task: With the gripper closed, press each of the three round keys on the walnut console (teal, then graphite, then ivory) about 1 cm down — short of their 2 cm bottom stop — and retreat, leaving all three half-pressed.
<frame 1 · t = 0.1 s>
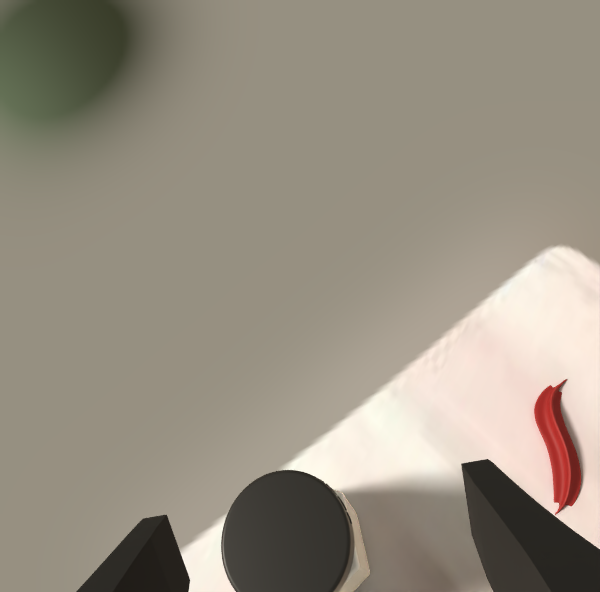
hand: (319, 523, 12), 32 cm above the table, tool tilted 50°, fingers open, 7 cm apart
jar: (316, 553, 41), on the table
cayenne pepper: (554, 443, 42), on the table
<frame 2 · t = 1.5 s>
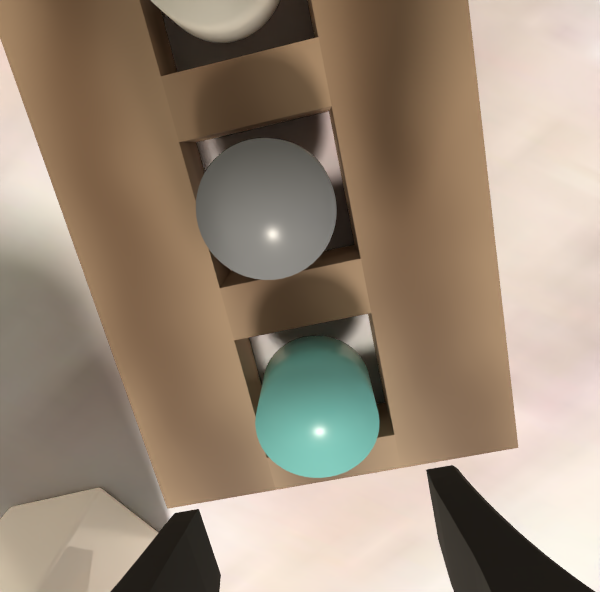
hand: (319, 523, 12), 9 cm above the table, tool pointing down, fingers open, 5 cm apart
jar: (89, 556, 24), on the table
teal key: (316, 403, 17), point 4 cm above the table, slide at 0.0 cm
graphite key: (269, 205, 16), point 4 cm above the table, slide at 0.0 cm
console: (277, 194, 19), on the table
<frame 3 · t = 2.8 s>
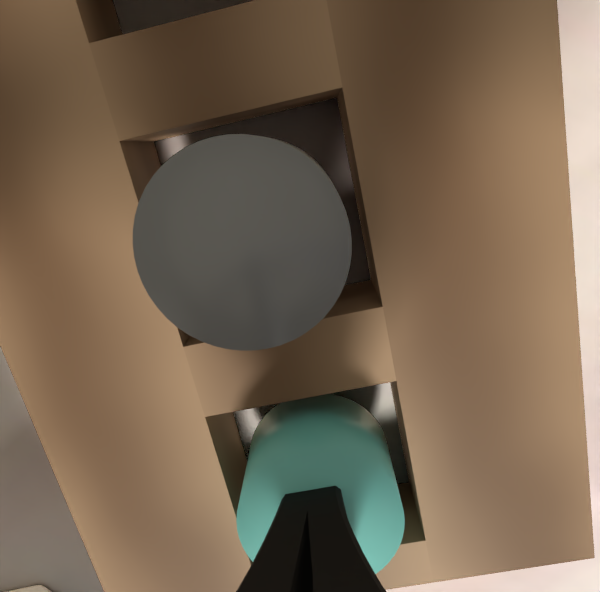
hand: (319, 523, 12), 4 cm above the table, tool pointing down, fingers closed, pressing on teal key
teal key: (319, 486, 13), point 3 cm above the table, slide at 0.9 cm, touching gripper
graphite key: (250, 235, 10), point 4 cm above the table, slide at 0.0 cm
console: (266, 213, 14), on the table
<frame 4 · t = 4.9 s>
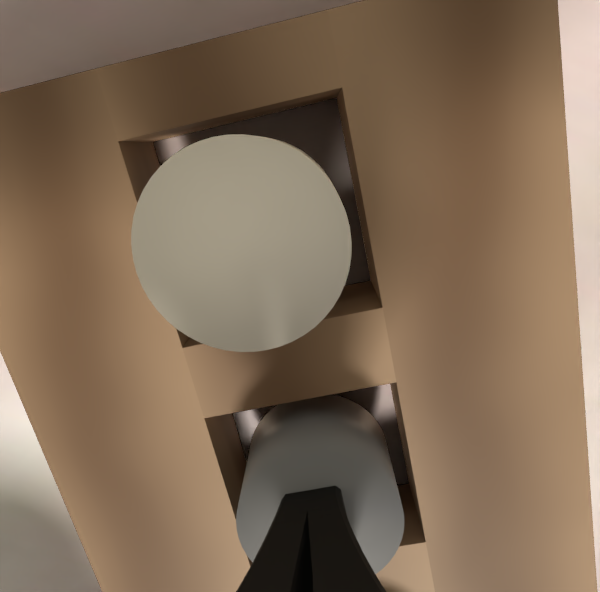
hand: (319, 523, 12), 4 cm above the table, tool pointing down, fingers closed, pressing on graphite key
ivory key: (250, 236, 10), point 4 cm above the table, slide at 0.0 cm
graphite key: (319, 486, 13), point 3 cm above the table, slide at 0.9 cm, touching gripper
console: (317, 431, 16), on the table
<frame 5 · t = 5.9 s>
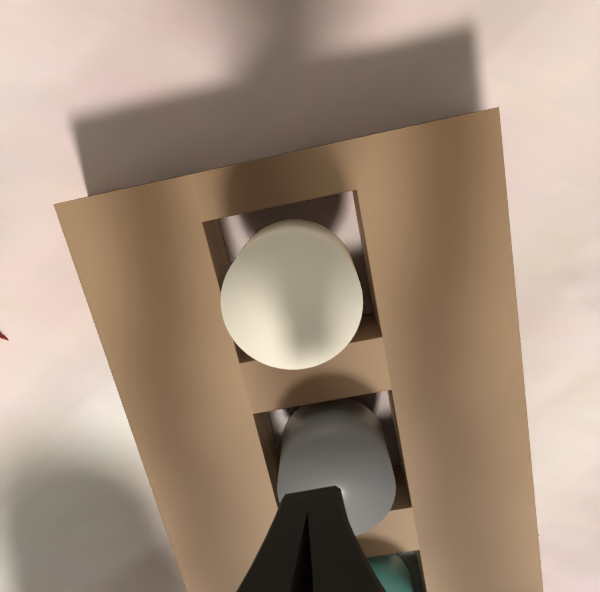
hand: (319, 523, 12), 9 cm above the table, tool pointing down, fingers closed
ivory key: (293, 290, 15), point 4 cm above the table, slide at 0.0 cm
graphite key: (334, 464, 18), point 3 cm above the table, slide at 0.9 cm
console: (332, 425, 21), on the table
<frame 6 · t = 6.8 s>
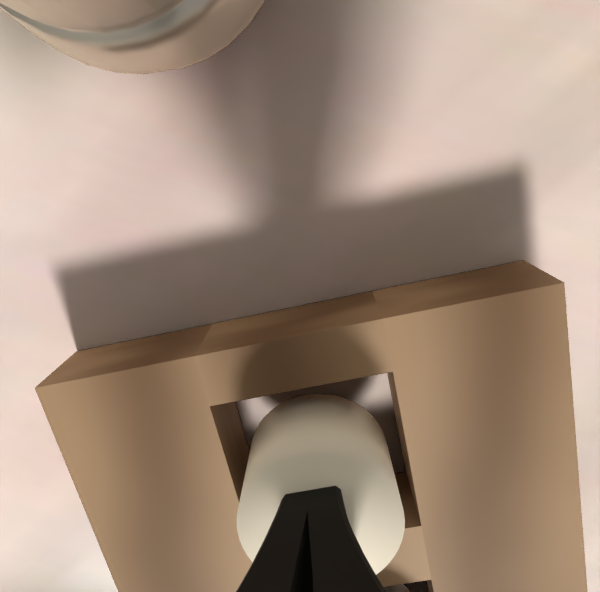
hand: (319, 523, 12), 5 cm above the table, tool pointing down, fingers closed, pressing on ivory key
ivory key: (319, 487, 13), point 3 cm above the table, slide at 0.3 cm, touching gripper
console: (357, 586, 18), on the table
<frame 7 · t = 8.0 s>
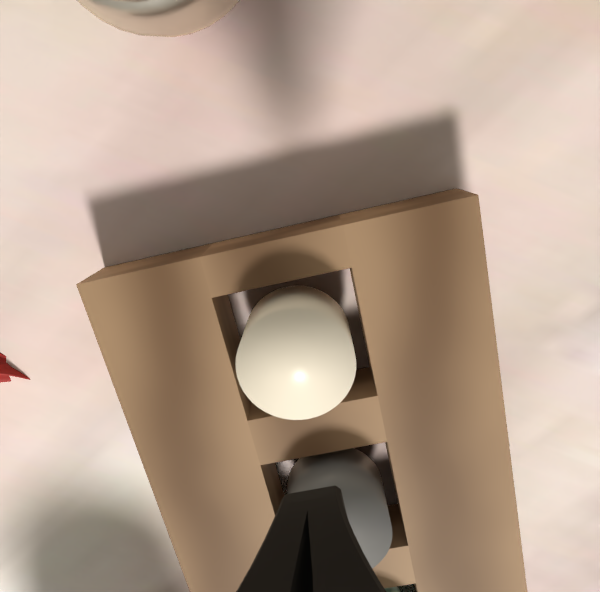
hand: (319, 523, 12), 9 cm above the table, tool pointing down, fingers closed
ivory key: (296, 349, 18), point 3 cm above the table, slide at 0.9 cm
graphite key: (336, 509, 20), point 3 cm above the table, slide at 0.9 cm
console: (333, 467, 22), on the table
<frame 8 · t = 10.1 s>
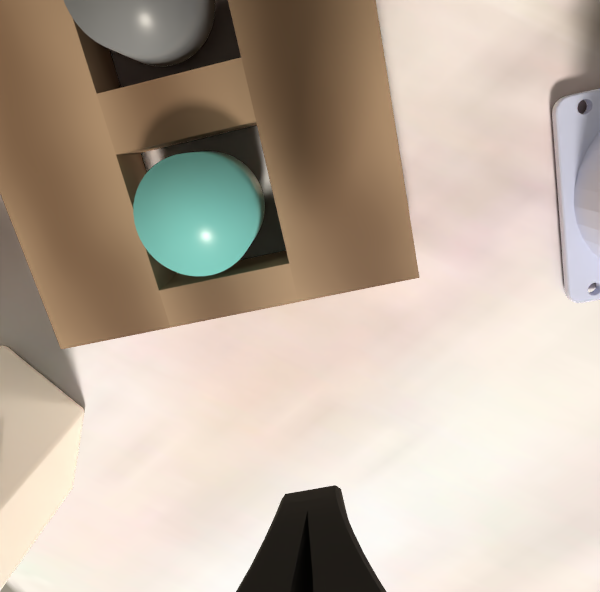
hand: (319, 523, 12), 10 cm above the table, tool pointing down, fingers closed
jar: (1, 425, 24), on the table
teal key: (203, 211, 18), point 3 cm above the table, slide at 1.0 cm
console: (167, 11, 18), on the table
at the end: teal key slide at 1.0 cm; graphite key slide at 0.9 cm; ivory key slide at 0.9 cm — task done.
